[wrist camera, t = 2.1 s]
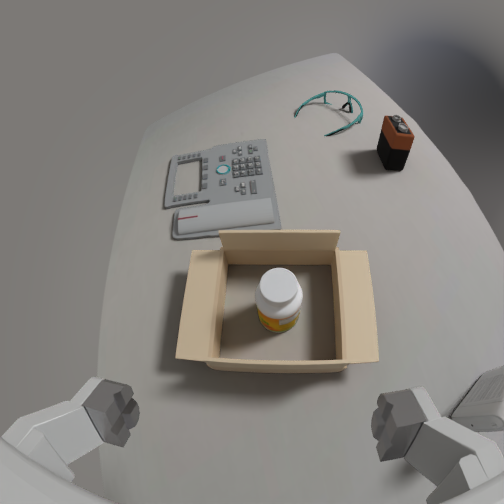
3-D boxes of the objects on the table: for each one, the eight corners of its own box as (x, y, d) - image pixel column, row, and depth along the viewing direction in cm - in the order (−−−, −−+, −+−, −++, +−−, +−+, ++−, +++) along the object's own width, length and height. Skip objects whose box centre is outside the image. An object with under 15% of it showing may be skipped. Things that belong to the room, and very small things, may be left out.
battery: (384, 170, 49) (396, 130, 41) (375, 149, 53) (384, 110, 44) (403, 171, 49) (417, 132, 40) (393, 150, 52) (403, 113, 44)
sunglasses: (371, 122, 59) (373, 106, 54) (330, 146, 56) (331, 129, 52) (330, 99, 65) (330, 84, 61) (288, 119, 63) (287, 103, 59)
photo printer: (458, 436, 24) (513, 435, 13) (445, 418, 26) (501, 413, 15) (495, 385, 26) (548, 368, 15) (483, 368, 28) (536, 346, 18)
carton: (369, 369, 32) (391, 359, 25) (185, 366, 34) (162, 355, 27) (359, 261, 40) (373, 230, 33) (199, 261, 42) (184, 230, 36)
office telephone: (283, 223, 42) (156, 239, 43) (283, 233, 45) (161, 248, 45) (265, 133, 54) (170, 148, 55) (265, 143, 56) (173, 157, 57)
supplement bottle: (252, 306, 38) (243, 274, 30) (287, 289, 39) (288, 253, 30) (269, 340, 35) (266, 318, 27) (306, 321, 36) (314, 294, 28)
